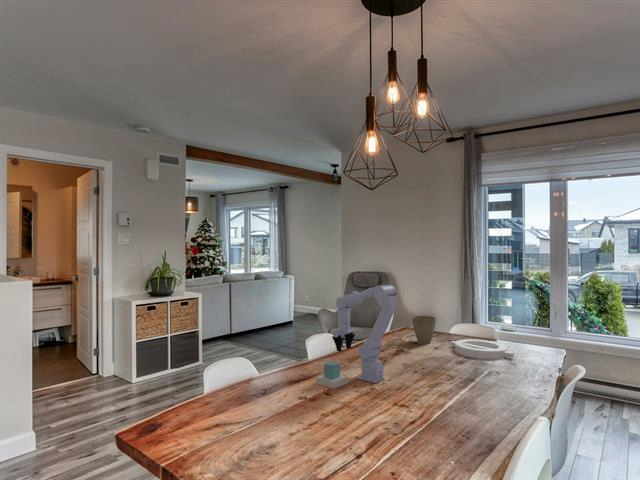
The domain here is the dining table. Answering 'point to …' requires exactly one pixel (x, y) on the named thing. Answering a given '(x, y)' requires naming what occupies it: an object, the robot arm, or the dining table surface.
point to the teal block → (331, 370)
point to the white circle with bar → (481, 349)
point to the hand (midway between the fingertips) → (343, 349)
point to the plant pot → (424, 328)
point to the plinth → (332, 381)
